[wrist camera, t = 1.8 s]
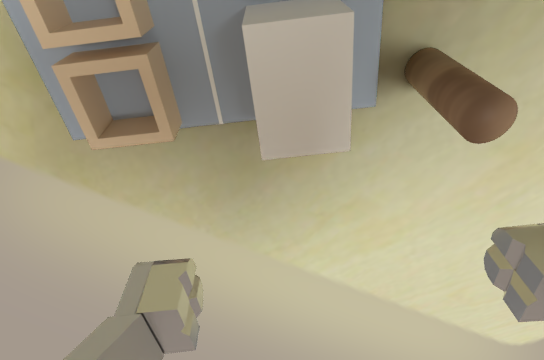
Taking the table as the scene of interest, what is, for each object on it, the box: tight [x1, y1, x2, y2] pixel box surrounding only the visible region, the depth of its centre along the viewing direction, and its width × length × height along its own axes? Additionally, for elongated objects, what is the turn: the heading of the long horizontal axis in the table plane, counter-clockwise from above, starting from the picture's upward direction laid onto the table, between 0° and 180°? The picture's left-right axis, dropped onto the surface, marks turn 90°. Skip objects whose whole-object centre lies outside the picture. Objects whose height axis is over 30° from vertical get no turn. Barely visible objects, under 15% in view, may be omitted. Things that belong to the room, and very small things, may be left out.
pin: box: [405, 48, 518, 144], centre depth 22 cm, size 3×3×9 cm
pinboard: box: [2, 0, 383, 150], centre depth 22 cm, size 24×14×4 cm, turn 96°
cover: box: [242, 0, 354, 160], centre depth 22 cm, size 6×8×6 cm
